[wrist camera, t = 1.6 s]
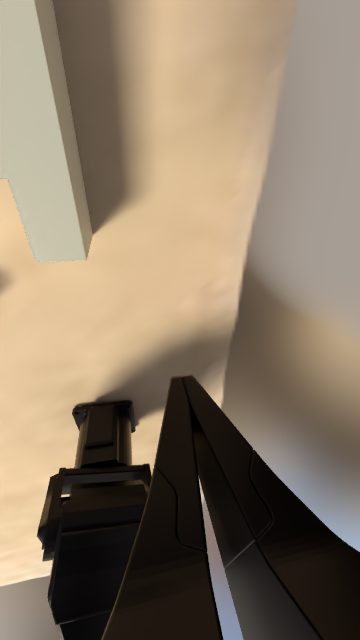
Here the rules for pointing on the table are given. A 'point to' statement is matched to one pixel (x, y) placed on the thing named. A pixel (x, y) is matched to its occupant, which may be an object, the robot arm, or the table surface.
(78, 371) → the table surface
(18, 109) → the t block
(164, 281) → the table surface
